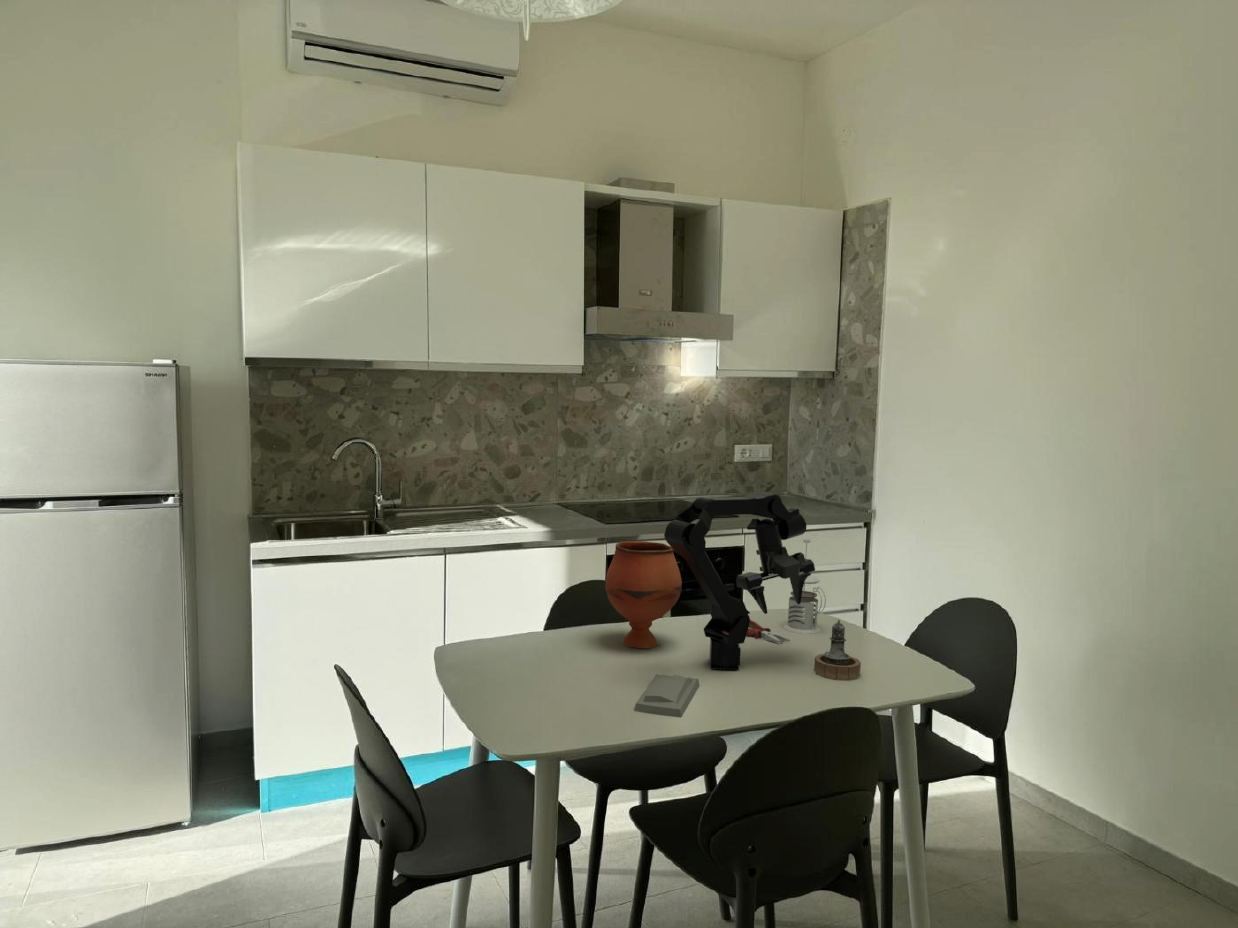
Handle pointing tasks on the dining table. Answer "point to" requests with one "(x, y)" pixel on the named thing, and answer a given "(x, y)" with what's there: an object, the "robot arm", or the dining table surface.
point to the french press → (795, 609)
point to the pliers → (762, 633)
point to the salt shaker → (837, 646)
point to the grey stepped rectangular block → (667, 695)
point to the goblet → (643, 587)
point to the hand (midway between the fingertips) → (782, 608)
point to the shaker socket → (837, 669)
